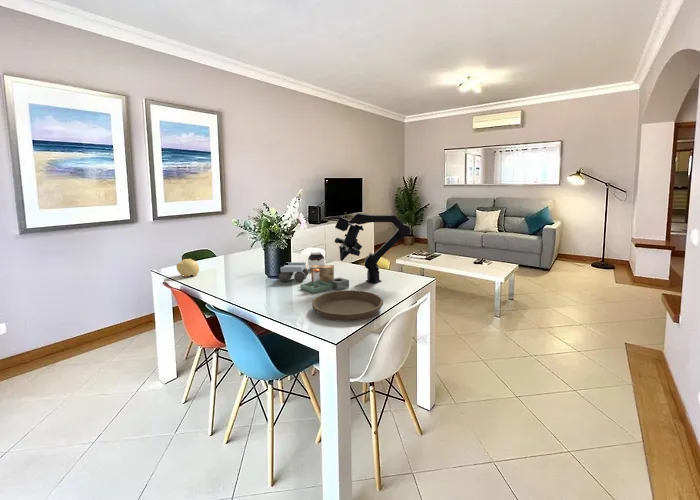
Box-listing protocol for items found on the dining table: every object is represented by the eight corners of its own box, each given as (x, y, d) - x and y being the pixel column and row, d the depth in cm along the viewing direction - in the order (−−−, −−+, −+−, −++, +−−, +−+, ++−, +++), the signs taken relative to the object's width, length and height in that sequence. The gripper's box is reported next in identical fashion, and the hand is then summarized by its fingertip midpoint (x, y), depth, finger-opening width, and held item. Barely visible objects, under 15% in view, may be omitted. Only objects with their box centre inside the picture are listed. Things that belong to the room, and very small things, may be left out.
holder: (349, 287, 197) (349, 280, 196) (337, 290, 191) (337, 283, 191) (339, 284, 203) (339, 277, 202) (328, 287, 197) (327, 280, 197)
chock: (334, 280, 211) (333, 265, 210) (333, 283, 206) (332, 267, 204) (313, 280, 212) (312, 265, 211) (311, 283, 206) (311, 267, 205)
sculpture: (187, 273, 237) (185, 256, 235) (203, 274, 233) (201, 257, 231) (174, 277, 226) (172, 260, 224) (191, 278, 223) (189, 261, 221)
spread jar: (320, 266, 245) (319, 249, 243) (329, 269, 236) (328, 252, 234) (304, 269, 238) (303, 251, 236) (313, 272, 229) (312, 254, 227)
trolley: (308, 276, 220) (308, 262, 219) (304, 282, 208) (304, 267, 207) (284, 276, 221) (283, 262, 220) (278, 282, 210) (277, 267, 208)
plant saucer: (363, 329, 142) (362, 317, 141) (298, 316, 157) (297, 306, 156) (394, 304, 168) (394, 295, 168) (336, 296, 183) (335, 287, 182)
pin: (321, 287, 195) (321, 269, 193) (316, 289, 193) (315, 270, 191) (317, 286, 198) (317, 268, 196) (312, 287, 195) (311, 269, 193)
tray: (332, 288, 194) (332, 284, 194) (314, 293, 187) (313, 289, 186) (319, 284, 203) (319, 280, 203) (301, 288, 196) (300, 284, 195)
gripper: (372, 244, 200) (361, 270, 203) (354, 232, 214) (344, 256, 217) (356, 239, 193) (345, 266, 196) (339, 227, 208) (328, 253, 211)
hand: (341, 260), depth 205 cm, fingers closed
